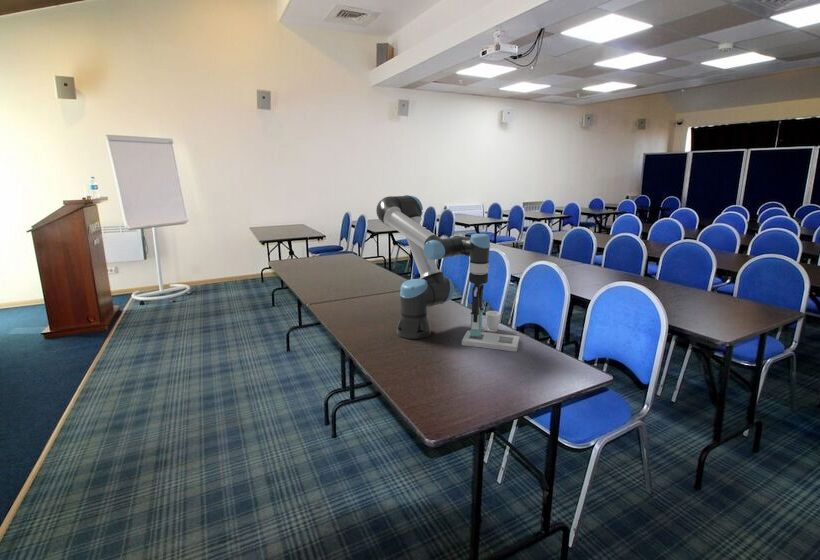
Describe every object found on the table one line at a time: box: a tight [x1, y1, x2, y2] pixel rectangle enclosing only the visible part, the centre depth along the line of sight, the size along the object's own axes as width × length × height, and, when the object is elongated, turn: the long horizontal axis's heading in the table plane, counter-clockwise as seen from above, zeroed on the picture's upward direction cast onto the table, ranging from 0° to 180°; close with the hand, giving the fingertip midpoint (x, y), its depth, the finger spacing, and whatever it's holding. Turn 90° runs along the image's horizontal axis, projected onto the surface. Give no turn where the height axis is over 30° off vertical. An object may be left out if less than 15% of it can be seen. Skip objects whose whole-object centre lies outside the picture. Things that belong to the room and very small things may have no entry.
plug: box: [469, 308, 484, 336], centre depth 174 cm, size 4×4×12 cm
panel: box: [461, 330, 520, 353], centre depth 174 cm, size 22×12×2 cm, turn 71°
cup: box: [482, 310, 502, 333], centre depth 187 cm, size 7×10×8 cm
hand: (476, 326), depth 175 cm, fingers closed on plug, 4 cm apart
